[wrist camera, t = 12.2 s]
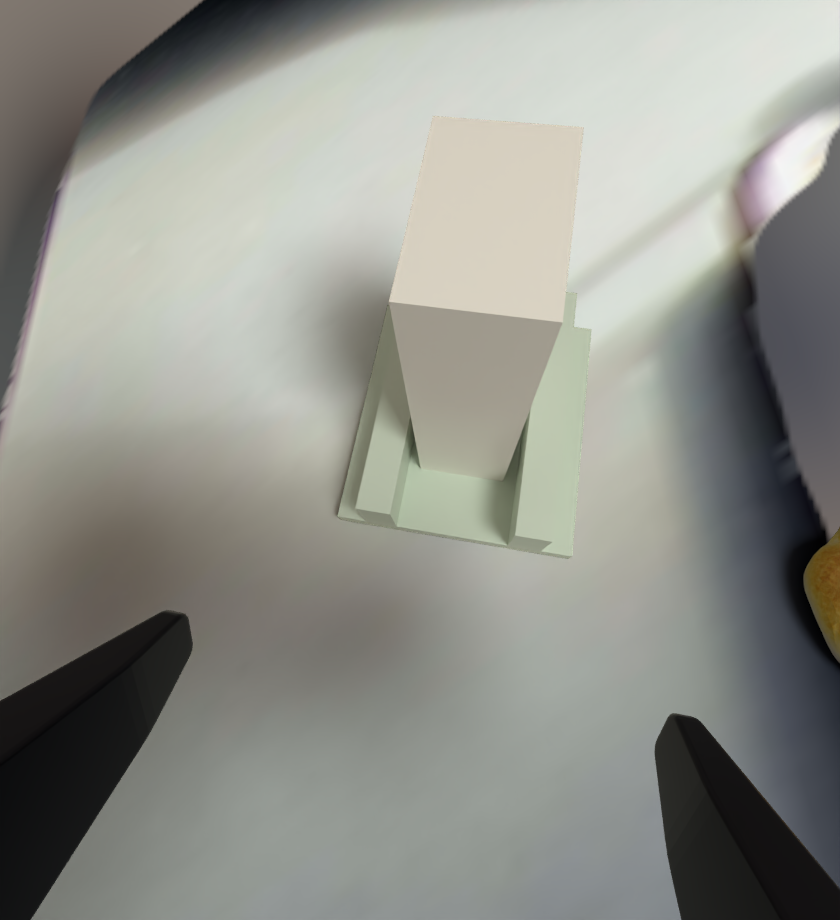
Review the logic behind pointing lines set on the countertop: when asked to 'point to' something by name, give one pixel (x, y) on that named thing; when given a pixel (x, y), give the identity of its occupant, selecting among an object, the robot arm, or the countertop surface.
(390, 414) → the tile rack
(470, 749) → the countertop surface
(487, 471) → the beige rectangular box
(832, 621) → the bread roll
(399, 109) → the countertop surface
